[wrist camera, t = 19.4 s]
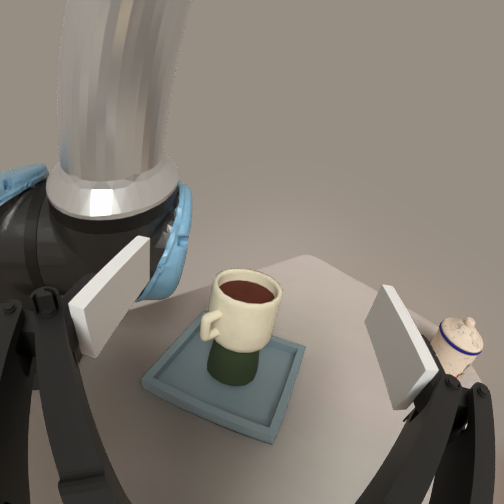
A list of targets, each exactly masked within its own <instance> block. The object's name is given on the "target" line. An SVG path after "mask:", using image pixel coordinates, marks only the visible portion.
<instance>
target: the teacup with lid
mask: <svg viewBox="0 0 504 504" xmlns="http://www.w3.org/2000/svg"><path fill="white" fill-rule="evenodd" d="M474 326H475V321H474V320H473V319H472V318H470V317H467V318H466V319H465V320H462V319H457V318H452V317H450V318H446V319H444V320H443V321H442V322H441V323H440V326H439V329H438V331H437V333H436V335H435V336H434V338H433V340H432V341H431V343H430V344H431V346H432V347H433V350H434V351H435V353H436V356H437V357H438V359H439V361H440V363H441V365H442V367H443V369H444V371H445V373H446V374H451V375H453V376H454V377H456V378H457V379H458V380H460V378H461V377H462V376H463V375H464V373H465V372H466V370H467V369H468V368H469V366H470V365H471V364H472V362H473V361H474V359H475V358H476V356H477V355H478V354H480V353H481V351H482V348H483V340H482V338H481V336H480V334H479V333H478V332H477V330H476V328H475V327H474Z"/></svg>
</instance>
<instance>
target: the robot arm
mask: <svg viewBox="0 0 504 504" xmlns="http://www.w3.org/2000/svg"><path fill="white" fill-rule="evenodd" d="M191 4H192V0H67V3H66V8H65V14H64V20H63V25H62V33H61V40H60V49H59V60H58V75H57V128H58V145H59V157H60V160H59V162H58V163H57V164H56V166H55V167H54V168H53V170H52V171H51V172H50V174H49V172H48V170H47V167H46V166H45V165H44V164H33V165H28V166H23V167H19V168H15V169H12V170H8V171H5V172H2V173H0V504H30V492H29V478H28V428H29V414H30V403H31V394H32V390H36V389H39V390H40V397H41V403H42V409H43V414H44V419H45V424H46V429H47V433H48V437H49V441H50V445H51V449H52V453H53V456H54V460H55V463H56V466H57V470H58V473H59V476H60V481H59V483H58V489H59V492H60V496H61V498H62V501H63V503H64V504H131V502H130V500H129V499H128V497H127V496H126V494H125V493H124V491H123V489H122V487H121V485H120V483H119V481H118V479H117V477H116V475H115V472H114V470H113V468H112V466H111V463H110V461H109V459H108V456H107V454H106V452H105V449H104V447H103V444H102V442H101V439H100V436H99V434H98V431H97V428H96V425H95V422H94V419H93V416H92V413H91V410H90V407H89V404H88V400H87V397H86V394H85V390H84V386H83V382H82V379H81V375H80V371H79V366H78V362H79V360H80V358H81V355H82V354H84V355H87V356H89V357H91V358H94V359H96V358H97V357H98V355H99V354H100V352H101V350H102V349H103V347H104V346H105V344H106V343H107V341H108V340H109V338H110V337H111V335H112V334H113V332H114V331H115V329H116V328H117V326H118V325H119V323H120V322H121V320H122V319H123V317H124V316H125V315H126V313H127V312H128V310H129V309H130V307H131V306H132V304H133V303H134V302H139V301H142V300H162V299H165V298H167V297H169V296H170V295H171V294H173V292H174V291H175V289H176V288H177V286H178V284H179V281H180V278H181V275H182V271H183V267H184V263H185V258H186V253H187V240H188V237H189V232H190V228H191V218H192V193H191V190H190V188H189V186H188V185H185V184H182V183H181V182H179V181H178V180H179V171H178V168H177V166H176V164H175V162H174V161H173V160H172V159H171V158H170V157H169V156H168V155H167V154H166V153H165V152H164V151H163V150H164V142H165V134H166V125H167V119H168V111H169V106H170V99H171V93H172V87H173V82H174V77H175V71H176V66H177V61H178V56H179V52H180V47H181V43H182V38H183V34H184V30H185V26H186V22H187V18H188V14H189V11H190V7H191ZM365 325H366V328H367V330H368V333H369V336H370V339H371V342H372V344H373V347H374V350H375V353H376V356H377V359H378V362H379V365H380V368H381V371H382V374H383V377H384V381H385V384H386V387H387V390H388V394H389V397H390V400H391V404H392V407H393V410H404V409H407V408H408V407H409V406H410V405H411V403H412V402H414V405H415V408H414V409H413V410H412V411H411V412H410V413H409V415H408V416H407V417H406V418H405V419H404V420H403V422H405V421H406V420H407V421H406V423H405V425H404V427H403V429H402V431H401V433H400V435H399V437H398V438H397V440H396V442H395V444H394V446H393V447H392V449H391V451H390V452H389V454H388V456H387V457H386V459H385V461H384V462H383V464H382V465H381V467H380V469H379V470H378V472H377V473H376V475H375V476H374V478H373V479H372V481H371V482H370V484H369V485H368V486H367V488H366V489H365V491H364V492H363V493H362V495H361V496H360V497H359V499H358V500H357V501H356V503H355V504H421V503H422V501H423V499H424V497H425V495H426V493H427V491H428V489H429V487H430V485H431V482H432V480H433V478H434V476H435V478H434V483H433V488H432V493H431V497H430V501H429V504H492V503H493V494H494V480H495V434H494V419H493V409H492V401H491V395H490V391H489V390H488V388H487V387H486V386H485V385H484V384H482V383H479V382H477V383H475V384H474V385H473V386H472V387H471V388H470V389H468V388H464V387H462V386H461V383H460V382H459V380H458V379H457V378H456V377H454V376H453V375H451V374H446V373H445V371H444V369H443V367H442V365H441V363H440V361H439V359H438V357H437V356H436V353H435V351H434V350H433V347H432V346H431V344H430V342H429V341H428V340H427V339H426V337H425V336H424V335H421V334H420V332H419V331H418V329H417V327H416V325H415V323H414V322H413V320H412V318H411V316H410V314H409V313H408V311H407V309H406V308H405V306H404V304H403V302H402V301H401V299H400V298H399V296H398V294H397V292H396V291H395V289H394V287H393V286H388V285H383V284H382V285H381V288H380V290H379V292H378V294H377V297H376V299H375V301H374V303H373V305H372V307H371V309H370V312H369V314H368V316H367V318H366V320H365ZM467 423H468V425H467V428H466V429H465V425H466V424H467Z"/></svg>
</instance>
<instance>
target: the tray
mask: <svg viewBox="0 0 504 504" xmlns="http://www.w3.org/2000/svg"><path fill="white" fill-rule="evenodd" d="M206 313H208V312H206V311H203V312H202V313H201V314H200V315H199V316H198V317H197V318H196V320H195V321H194V322H193V323H192V324H191V325H190V326H189V327H188V328H187V329H186V330H185V331H184V333H183V334H182V335H181V336H180V337H179V338H178V339H177V340H176V341H175V342H174V343H173V345H172V346H171V347H170V348H169V349H168V350H167V351H166V352H165V353H164V354H163V355H162V356H161V357H160V359H159V360H158V361H157V362H156V363H155V364H154V365H153V366H152V367H151V368H150V369H149V370H148V372H147V373H146V374H145V375H144V376H143V377H142V378H141V382H142V388H144V389H146V390H148V391H149V392H151V393H153V394H155V395H157V396H158V397H160V398H162V399H164V400H166V401H168V402H170V403H172V404H174V405H176V406H178V407H180V408H182V409H184V410H186V411H188V412H190V413H192V414H194V415H197V416H199V417H201V418H203V419H205V420H208V421H210V422H212V423H215V424H217V425H219V426H222V427H224V428H227V429H229V430H232V431H234V432H237V433H240V434H242V435H245V436H248V437H250V438H253V439H256V440H259V441H262V442H265V443H268V444H271V445H272V443H273V442H274V440H275V438H276V436H277V433H278V430H279V427H280V425H281V422H282V419H283V416H284V413H285V411H286V408H287V405H288V402H289V399H290V396H291V393H292V390H293V387H294V384H295V380H296V377H297V374H298V371H299V368H300V364H301V361H302V358H303V354H304V351H305V348H306V347H305V346H302V345H299V344H296V343H293V342H290V341H287V340H284V339H281V338H278V337H275V336H272V335H271V338H270V340H269V342H268V343H267V345H266V346H265V347H264V348H263V349H261V350H259V363H258V369H257V373H256V375H255V378H254V380H253V381H251V382H250V383H248V384H246V385H245V386H230V385H226V384H223V383H221V382H219V381H218V380H216V379H215V378H213V377H212V376H211V375H210V373H209V372H208V371H207V361H208V357H209V353H210V350H211V347H212V344H213V341H214V338H213V339H211V340H209V341H202V340H201V337H200V325H201V318H202V316H203V315H204V314H206Z"/></svg>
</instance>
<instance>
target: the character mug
mask: <svg viewBox="0 0 504 504" xmlns="http://www.w3.org/2000/svg"><path fill="white" fill-rule="evenodd" d="M282 293H283V290H282V288H281V286H280V284H279V283H278V282H277V281H276V280H275V279H273V278H272V277H270V276H268V275H266V274H264V273H262V272H258V271H254V270H251V269H241V268H233V269H227V270H224V271H221V272H220V273H218V274H217V275H216V277H215V279H214V280H213V284H212V292H211V297H210V301H209V312H208V313H206V314H204V315H203V316H202V318H201V325H200V337H201V340H202V341H209V340H211V339H213V338H214V341H213V344H212V347H211V350H210V353H209V357H208V361H207V371H208V372H209V373H210V375H211V376H212V377H213V378H215V379H216V380H218V381H219V382H221V383H223V384H226V385H230V386H245V385H246V384H248V383H250V382H251V381H253V380H254V378H255V375H256V373H257V369H258V363H259V350H261V349H263V348H264V347H265V346H266V345H267V343H268V342H269V340H270V338H271V334H272V331H273V327H274V324H275V320H276V317H277V313H278V310H279V306H280V303H281V298H282Z"/></svg>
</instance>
